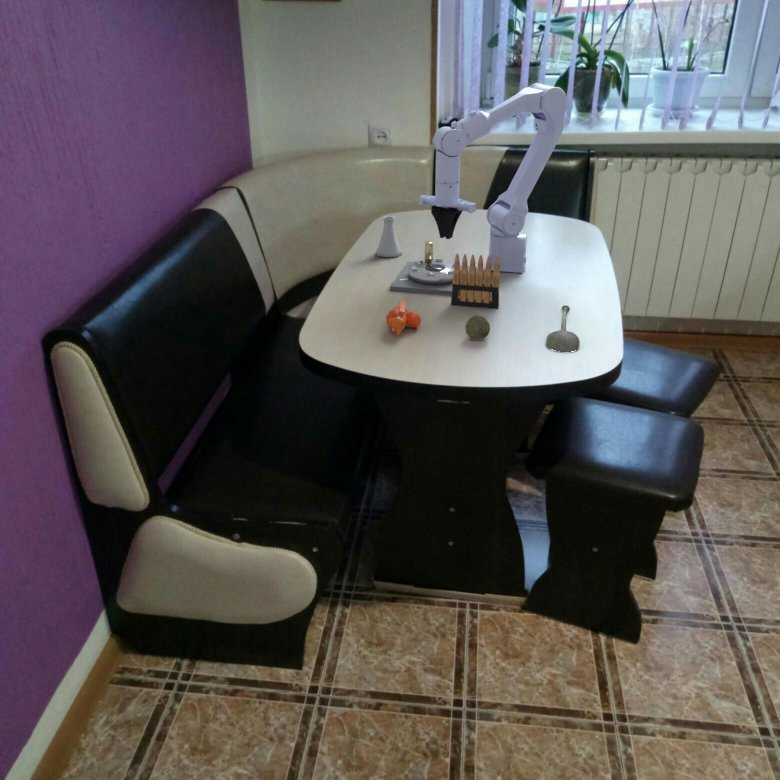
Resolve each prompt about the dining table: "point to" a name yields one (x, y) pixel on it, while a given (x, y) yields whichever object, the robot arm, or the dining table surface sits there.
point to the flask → (388, 240)
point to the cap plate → (420, 284)
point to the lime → (477, 327)
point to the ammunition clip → (476, 284)
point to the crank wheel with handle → (432, 268)
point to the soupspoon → (563, 337)
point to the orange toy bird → (402, 318)
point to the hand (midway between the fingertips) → (446, 237)
